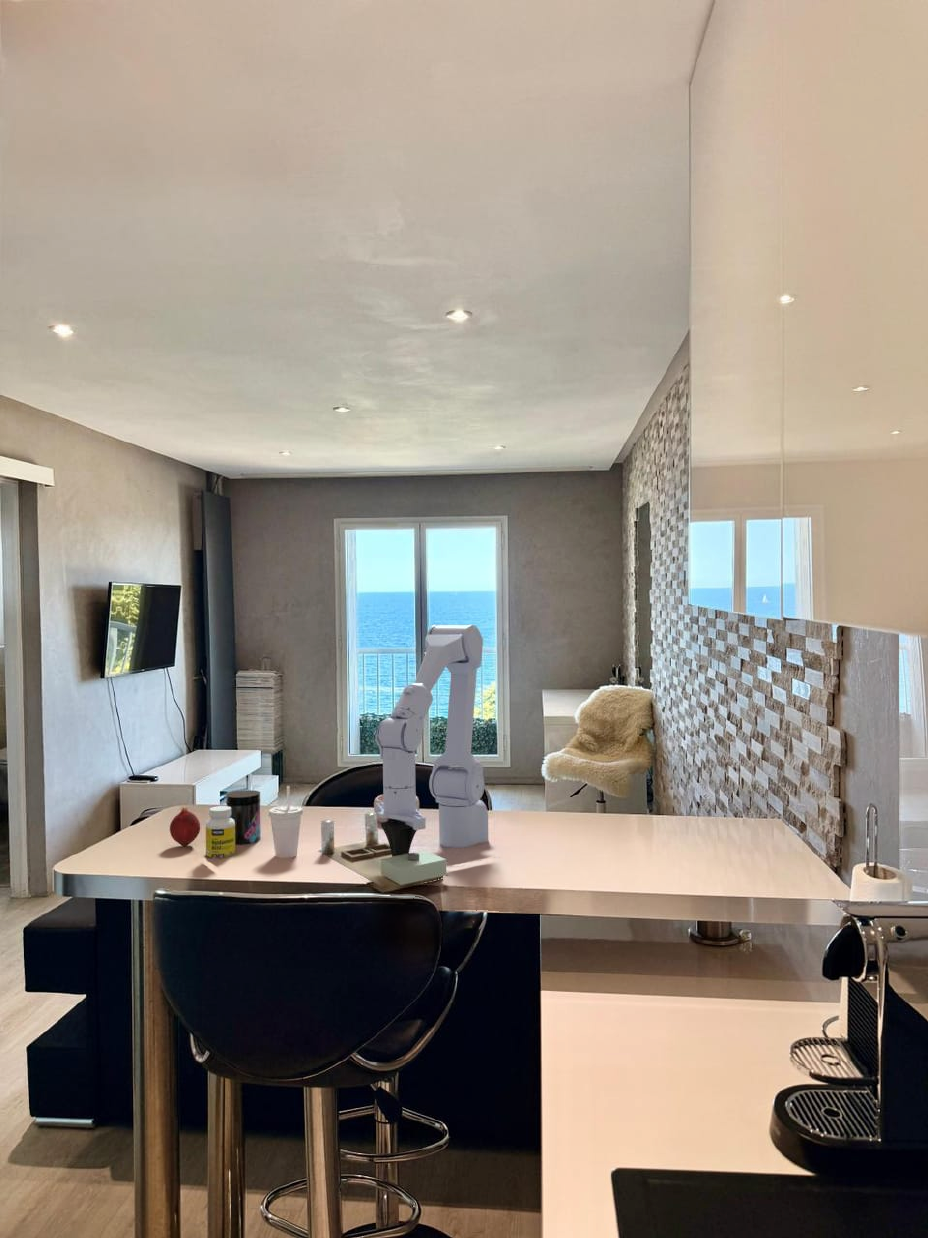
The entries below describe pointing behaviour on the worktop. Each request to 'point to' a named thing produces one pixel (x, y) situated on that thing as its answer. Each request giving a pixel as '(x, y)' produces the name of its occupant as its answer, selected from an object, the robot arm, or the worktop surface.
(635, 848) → the worktop surface
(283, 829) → the smoothie
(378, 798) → the pink bowl
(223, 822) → the supplement bottle
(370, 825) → the pin
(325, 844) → the pin
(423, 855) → the cover
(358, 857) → the board
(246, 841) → the supplement container
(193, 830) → the onion
